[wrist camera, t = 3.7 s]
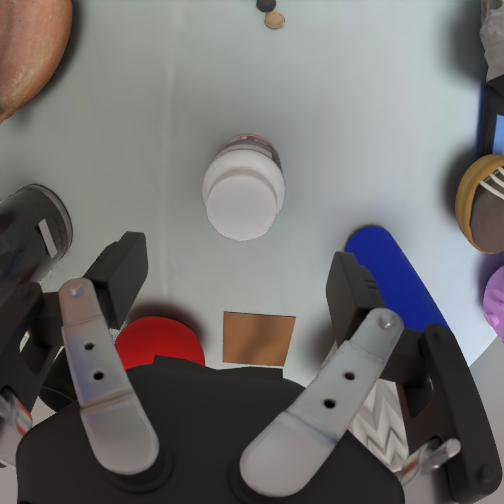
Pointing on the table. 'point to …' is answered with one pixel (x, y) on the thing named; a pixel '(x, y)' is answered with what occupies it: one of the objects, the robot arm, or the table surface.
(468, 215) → the doughnut
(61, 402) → the cup
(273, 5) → the beads
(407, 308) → the beverage can
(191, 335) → the tomato
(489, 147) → the game console
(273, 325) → the copper coaster
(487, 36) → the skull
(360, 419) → the vase
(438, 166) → the table surface
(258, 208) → the pill bottle
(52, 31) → the ceramic jug
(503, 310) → the teapot
